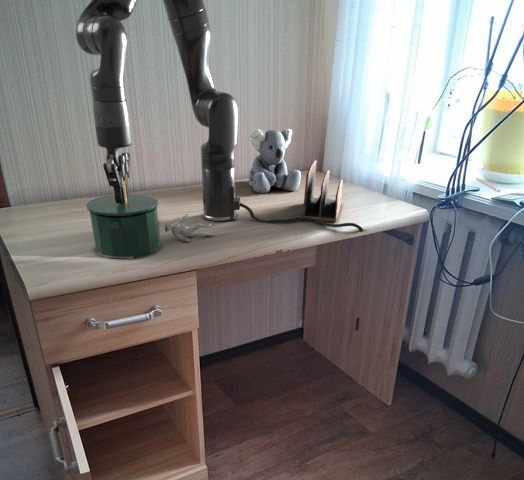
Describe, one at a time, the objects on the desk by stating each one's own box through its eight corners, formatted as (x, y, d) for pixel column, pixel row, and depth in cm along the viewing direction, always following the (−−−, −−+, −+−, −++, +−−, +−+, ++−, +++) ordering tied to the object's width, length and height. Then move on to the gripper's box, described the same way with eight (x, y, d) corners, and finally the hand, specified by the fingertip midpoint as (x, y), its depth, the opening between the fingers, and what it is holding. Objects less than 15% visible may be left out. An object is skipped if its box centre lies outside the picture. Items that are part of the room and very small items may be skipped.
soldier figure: (212, 244, 134) (168, 235, 128) (205, 251, 138) (162, 243, 132) (212, 217, 136) (169, 207, 130) (205, 225, 140) (163, 216, 134)
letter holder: (302, 220, 149) (305, 170, 142) (310, 201, 166) (313, 156, 158) (336, 222, 147) (341, 172, 140) (341, 203, 164) (345, 158, 156)
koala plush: (256, 195, 171) (256, 132, 160) (238, 182, 185) (238, 124, 175) (302, 191, 176) (306, 130, 166) (282, 179, 190) (284, 122, 180)
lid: (164, 199, 130) (162, 174, 126) (149, 219, 115) (146, 191, 112) (99, 197, 130) (95, 172, 127) (77, 217, 116) (72, 189, 113)
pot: (167, 234, 137) (164, 197, 131) (149, 264, 119) (145, 222, 114) (110, 232, 137) (104, 195, 132) (83, 262, 119) (76, 220, 114)
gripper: (120, 128, 107) (130, 210, 116) (137, 118, 119) (144, 193, 128) (85, 127, 107) (97, 209, 116) (105, 117, 119) (115, 192, 128)
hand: (122, 200), depth 122 cm, fingers closed on lid, 2 cm apart
